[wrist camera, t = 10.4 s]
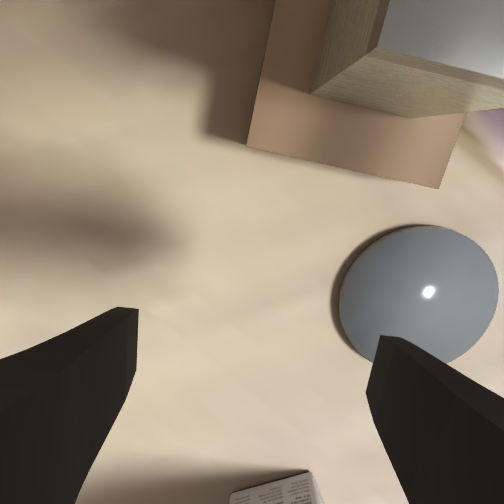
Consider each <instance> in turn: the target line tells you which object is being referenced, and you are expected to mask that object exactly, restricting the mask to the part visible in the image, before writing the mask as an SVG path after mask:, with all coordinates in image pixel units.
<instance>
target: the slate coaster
mask: <svg viewBox="0 0 504 504" xmlns="http://www.w3.org/2000/svg"><path fill="white" fill-rule="evenodd" d="M498 292H499V289H498V279H497V274H496V271H495V268H494V266H493V263H492V262H491V260H490V258H489V256H488V255H487V254H486V253H485V251H484V250H483V249H482V248H481V247H480V246H479V245H478V244H477V243H476V242H474V241H473V240H471V239H470V238H468V237H466V236H464V235H462V234H460V233H458V232H455V231H453V230H451V229H447V228H444V227H438V226H430V225H420V226H411V227H407V228H403V229H399V230H396V231H394V232H391V233H389V234H387V235H385V236H383V237H381V238H379V239H378V240H376V241H375V242H373V243H372V244H370V245H369V246H368V247H367V248H366V249H365V250H363V251H362V253H361V254H360V255H359V256H358V257H357V258H356V259H355V261H354V262H353V263H352V265H351V266H350V268H349V270H348V271H347V273H346V275H345V277H344V280H343V283H342V285H341V289H340V294H339V303H338V304H339V316H340V321H341V324H342V326H343V329H344V331H345V333H346V335H347V337H348V339H349V341H350V343H351V344H352V345H353V347H354V348H355V349H356V350H357V351H358V352H359V353H360V354H361V355H362V356H363V357H365V358H366V359H367V360H369V361H370V362H372V363H373V362H374V358H375V354H376V350H377V346H378V342H379V338H380V335H385V336H395V337H401V338H403V339H405V340H407V341H409V342H411V343H413V344H415V345H416V346H418V347H420V348H421V349H423V350H425V351H426V352H428V353H430V354H431V355H433V356H434V357H436V358H437V359H439V360H441V361H442V362H444V363H445V364H446V363H449V362H451V361H453V360H454V359H456V358H458V357H459V356H461V355H462V354H464V353H465V352H466V351H468V350H469V349H470V348H471V347H472V346H473V345H474V344H475V343H476V342H477V341H478V340H479V339H480V338H481V336H482V335H483V334H484V332H485V331H486V329H487V328H488V326H489V324H490V322H491V320H492V318H493V316H494V313H495V310H496V306H497V302H498Z"/></svg>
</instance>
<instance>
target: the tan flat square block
mask: <svg viewBox="0 0 504 504" xmlns="http://www.w3.org/2000/svg"><path fill="white" fill-rule="evenodd" d="M331 4H332V0H276V1H275V6H274V11H273V16H272V21H271V26H270V31H269V36H268V41H267V46H266V51H265V56H264V61H263V65H262V70H261V75H260V80H259V85H258V90H257V95H256V100H255V105H254V110H253V115H252V120H251V125H250V130H249V135H248V140H247V145H246V147H251V148H255V149H260V150H264V151H269V152H273V153H278V154H282V155H287V156H291V157H296V158H300V159H305V160H309V161H314V162H318V163H323V164H327V165H332V166H336V167H341V168H345V169H350V170H354V171H359V172H363V173H368V174H372V175H377V176H381V177H386V178H390V179H395V180H399V181H404V182H408V183H413V184H417V185H422V186H426V187H431V188H435V189H439V187H440V184H441V181H442V178H443V176H444V173H445V170H446V167H447V164H448V162H449V159H450V156H451V153H452V150H453V148H454V145H455V142H456V139H457V136H458V134H459V131H460V128H461V125H462V123H463V120H464V117H465V114H466V112H465V113H456V114H447V115H439V116H430V117H422V118H413V119H412V118H408V117H403V116H399V115H395V114H391V113H386V112H382V111H378V110H374V109H369V108H365V107H361V106H357V105H353V104H348V103H344V102H340V101H336V100H331V99H327V98H323V97H319V96H314V95H310V91H311V87H312V83H313V78H314V74H315V70H316V66H317V62H318V58H319V54H320V49H321V45H322V41H323V37H324V33H325V29H326V24H327V20H328V16H329V12H330V8H331Z"/></svg>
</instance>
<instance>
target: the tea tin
mask: <svg viewBox="0 0 504 504" xmlns="http://www.w3.org/2000/svg"><path fill="white" fill-rule="evenodd" d="M310 95H314V96H319V97H323V98H327V99H331V100H336V101H340V102H344V103H348V104H353V105H357V106H361V107H365V108H369V109H374V110H378V111H382V112H386V113H391V114H395V115H399V116H403V117H408V118H412V119H413V118H422V117H430V116H439V115H447V114H456V113H465V112H473V111H482V110H490V109H499V108H504V0H332V4H331V8H330V12H329V16H328V20H327V24H326V29H325V33H324V37H323V41H322V45H321V49H320V54H319V58H318V62H317V66H316V70H315V74H314V78H313V83H312V87H311V91H310Z"/></svg>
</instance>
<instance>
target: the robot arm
mask: <svg viewBox="0 0 504 504" xmlns="http://www.w3.org/2000/svg"><path fill="white" fill-rule="evenodd" d="M138 313H139V309H133V308H124V307H116V308H113V309H111V310H109V311H107V312H105V313H103V314H101V315H99V316H97V317H95V318H93V319H91V320H89V321H87V322H85V323H83V324H81V325H79V326H77V327H75V328H73V329H71V330H69V331H67V332H65V333H63V334H60V335H58V336H56V337H54V338H52V339H49V340H47V341H45V342H43V343H40V344H38V345H36V346H34V347H31V348H29V349H26V350H24V351H21V352H19V353H16V354H14V355H11V356H8V357H5V358H2V359H0V504H75V502H76V499H77V497H78V494H79V492H80V489H81V487H82V485H83V483H84V481H85V478H86V476H87V474H88V472H89V470H90V468H91V466H92V464H93V462H94V460H95V458H96V456H97V455H98V453H99V451H100V449H101V447H102V445H103V443H104V441H105V439H106V437H107V435H108V433H109V431H110V429H111V428H112V426H113V424H114V422H115V420H116V418H117V416H118V414H119V412H120V410H121V408H122V406H123V404H124V402H125V400H126V397H127V395H128V392H129V389H130V386H131V384H132V381H133V378H134V375H135V372H136V364H137V338H138ZM366 396H367V399H368V403H369V407H370V411H371V414H372V417H373V421H374V424H375V426H376V429H377V431H378V434H379V436H380V438H381V441H382V443H383V445H384V448H385V450H386V452H387V454H388V457H389V459H390V461H391V463H392V466H393V468H394V470H395V472H396V475H397V477H398V479H399V481H400V484H401V486H402V488H403V491H404V493H405V495H406V497H407V500H408V502H409V504H504V398H503V397H501V396H499V395H497V394H496V393H494V392H492V391H490V390H489V389H487V388H485V387H483V386H482V385H480V384H478V383H476V382H475V381H473V380H471V379H470V378H468V377H466V376H465V375H463V374H461V373H460V372H458V371H457V370H455V369H453V368H452V367H450V366H449V365H447V364H445V363H444V362H442V361H441V360H439V359H437V358H436V357H434V356H433V355H431V354H430V353H428V352H426V351H425V350H423V349H421V348H420V347H418V346H416V345H415V344H413V343H411V342H409V341H407V340H405V339H403V338H401V337H395V336H385V335H380V338H379V342H378V346H377V350H376V354H375V358H374V362H373V366H372V370H371V374H370V378H369V381H368V385H367V389H366Z"/></svg>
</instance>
